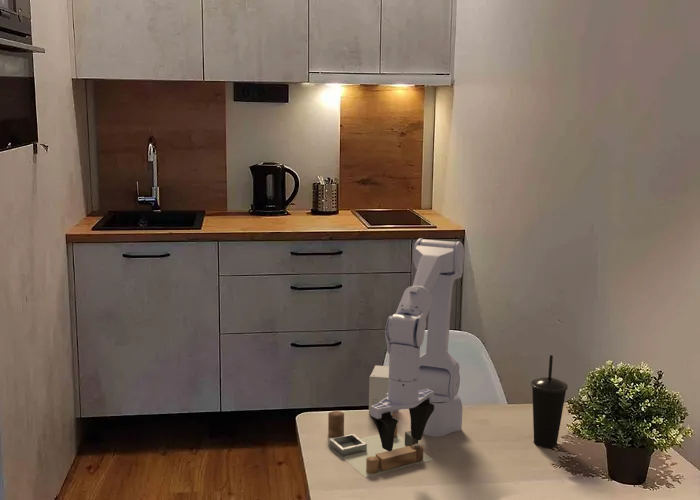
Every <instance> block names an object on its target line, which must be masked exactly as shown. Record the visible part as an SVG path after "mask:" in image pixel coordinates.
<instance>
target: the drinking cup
mask: <svg viewBox="0 0 700 500" xmlns="http://www.w3.org/2000/svg"><path fill="white" fill-rule="evenodd" d="M553 357H554V355H551V354H550V355H549V358H548V359H549V361H548V363H549V364H548V374H547V375H548V376H542V377H539V378H534V379H532V380H531V382H530V386H531V388H532V389H531V390H532V391H531V392H532V395H531V396H532V419H533V420H532V423H533V425H532V426H533V443H534V445H535V446H537V447H539V448H543V449H553V448H556V447H557V445H558V444H557V443H558V438H559V434H560V428H561V427H560V426H561V421H562V416H563V410H564V404H565V398H566V393H567V390H568V389H569V385H568V384H567V383H566V382H565V381H563V380H560V379H559V378H556V377H553V375H552V373H553V363H554V361H553V359H554V358H553Z"/></svg>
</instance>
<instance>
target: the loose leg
mask: <svg viewBox="0 0 700 500" xmlns="http://www.w3.org/2000/svg"><path fill="white" fill-rule="evenodd" d="M327 419H328V420H327V423H328V426H327V427H328V430H327V435H328V437H329V438H330V439H331V438H335V437H339V436H344V435H345V413H344V412H343V411H341V410H340V411H339V410H334V411H333V410H332V411H330V412H328V417H327Z"/></svg>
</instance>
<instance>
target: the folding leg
mask: <svg viewBox="0 0 700 500" xmlns="http://www.w3.org/2000/svg"><path fill="white" fill-rule="evenodd" d="M424 449H425V448H424V446H423V445H421V444H420V443H418V444H414V445H412V446H411V447H410V446H407V447H402V448H398V449H394V450H392V451H386V452H382V453H378V454H376V457H377V458H378V459H379V463H378V468H380V469H381V470H382V471H383V470H387V469H391V468H394V467H398V466H402V465H406V464H410V463H414V462H416V461H421V460H423V453H424Z"/></svg>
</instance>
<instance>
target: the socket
mask: <svg viewBox="0 0 700 500" xmlns="http://www.w3.org/2000/svg"><path fill="white" fill-rule="evenodd" d="M350 442H353V443H354V444H355V445H354V446H350V447H346V448H343V447H342V446H340V445H341V444H346V443H350ZM329 446H330V447H331V448H332V449H333V451H334V452H335V451H336V452H337V453H338V454H339V455H338V454H337V453H336V452H335V453H336V454H337V455H338V456H339V457H341V456H342V457H345V456H349V455H353V454H357V453H361V452H365V451H367V444H366V443H365V442H364V441H362V440H361V439H360V437H358V436H357V435H356V434H355V433H350V434H344V436H339V437H335V438H331V437H330V438H328V447H329ZM330 447H329V448H330ZM331 448H330V449H331ZM332 449H331V450H332ZM342 457H341V458H342Z"/></svg>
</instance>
